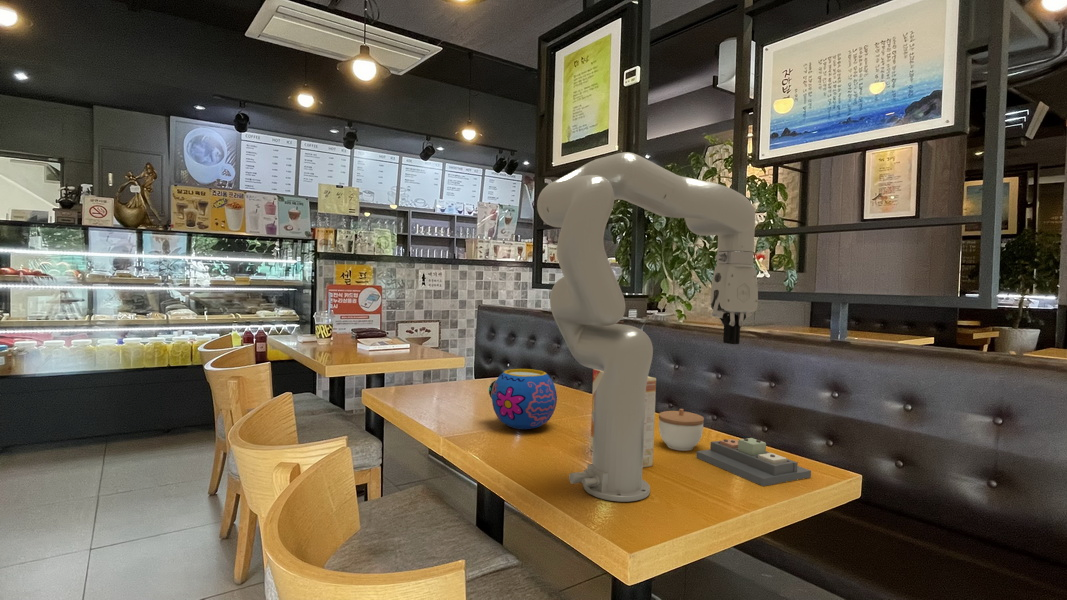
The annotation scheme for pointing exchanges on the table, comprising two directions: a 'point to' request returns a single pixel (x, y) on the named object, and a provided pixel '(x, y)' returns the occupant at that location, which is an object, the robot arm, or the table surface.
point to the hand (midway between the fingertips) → (731, 343)
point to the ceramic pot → (523, 398)
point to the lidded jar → (680, 429)
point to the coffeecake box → (648, 416)
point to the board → (752, 465)
